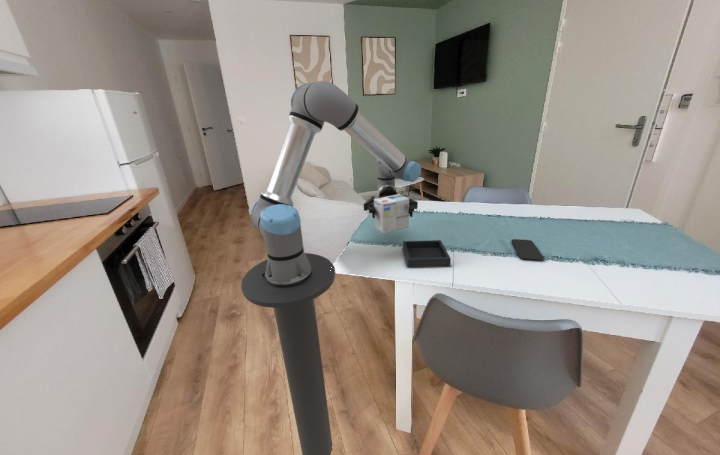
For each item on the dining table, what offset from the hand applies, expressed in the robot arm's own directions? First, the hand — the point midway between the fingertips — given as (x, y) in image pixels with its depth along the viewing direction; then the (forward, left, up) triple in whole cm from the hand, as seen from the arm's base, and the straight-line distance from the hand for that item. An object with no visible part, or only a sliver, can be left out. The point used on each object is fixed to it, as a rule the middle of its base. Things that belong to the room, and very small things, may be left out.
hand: (392, 213), depth 96 cm
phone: (+49, +5, -18) cm, 53 cm away
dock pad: (+12, +2, -18) cm, 22 cm away
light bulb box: (0, +4, -7) cm, 8 cm away
